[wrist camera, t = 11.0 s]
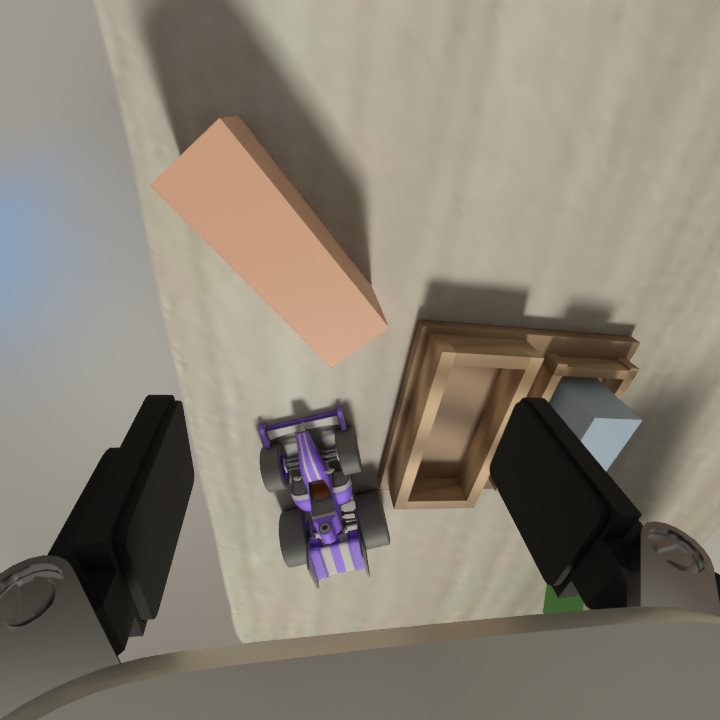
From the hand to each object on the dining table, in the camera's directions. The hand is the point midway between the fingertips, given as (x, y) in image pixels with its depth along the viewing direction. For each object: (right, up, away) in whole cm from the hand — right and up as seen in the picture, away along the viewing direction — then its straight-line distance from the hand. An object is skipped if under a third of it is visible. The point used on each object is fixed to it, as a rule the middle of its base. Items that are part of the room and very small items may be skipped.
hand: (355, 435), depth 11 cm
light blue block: (+17, -4, +23) cm, 29 cm away
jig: (+12, -3, +23) cm, 26 cm away
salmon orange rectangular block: (-4, +10, +12) cm, 16 cm away
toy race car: (-3, -8, +25) cm, 26 cm away
